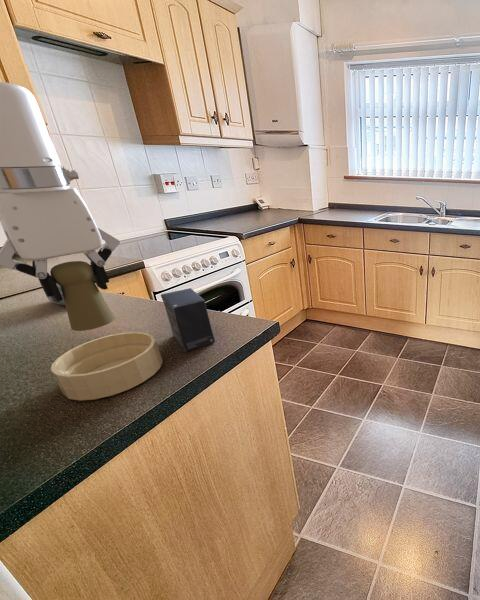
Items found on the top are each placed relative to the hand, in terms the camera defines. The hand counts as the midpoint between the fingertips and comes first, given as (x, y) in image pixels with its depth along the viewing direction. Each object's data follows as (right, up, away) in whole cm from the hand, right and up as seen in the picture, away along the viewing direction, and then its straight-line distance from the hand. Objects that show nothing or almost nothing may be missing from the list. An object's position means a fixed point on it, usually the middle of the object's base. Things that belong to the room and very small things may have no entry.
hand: (80, 292), depth 57 cm
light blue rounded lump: (-40, -2, +40) cm, 56 cm away
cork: (0, -5, +2) cm, 6 cm away
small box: (+7, -10, +20) cm, 23 cm away
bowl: (0, -16, +7) cm, 17 cm away
